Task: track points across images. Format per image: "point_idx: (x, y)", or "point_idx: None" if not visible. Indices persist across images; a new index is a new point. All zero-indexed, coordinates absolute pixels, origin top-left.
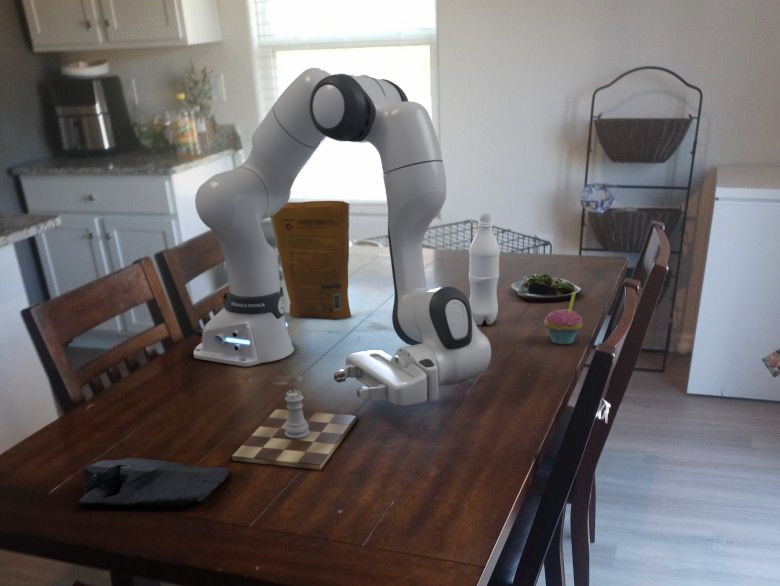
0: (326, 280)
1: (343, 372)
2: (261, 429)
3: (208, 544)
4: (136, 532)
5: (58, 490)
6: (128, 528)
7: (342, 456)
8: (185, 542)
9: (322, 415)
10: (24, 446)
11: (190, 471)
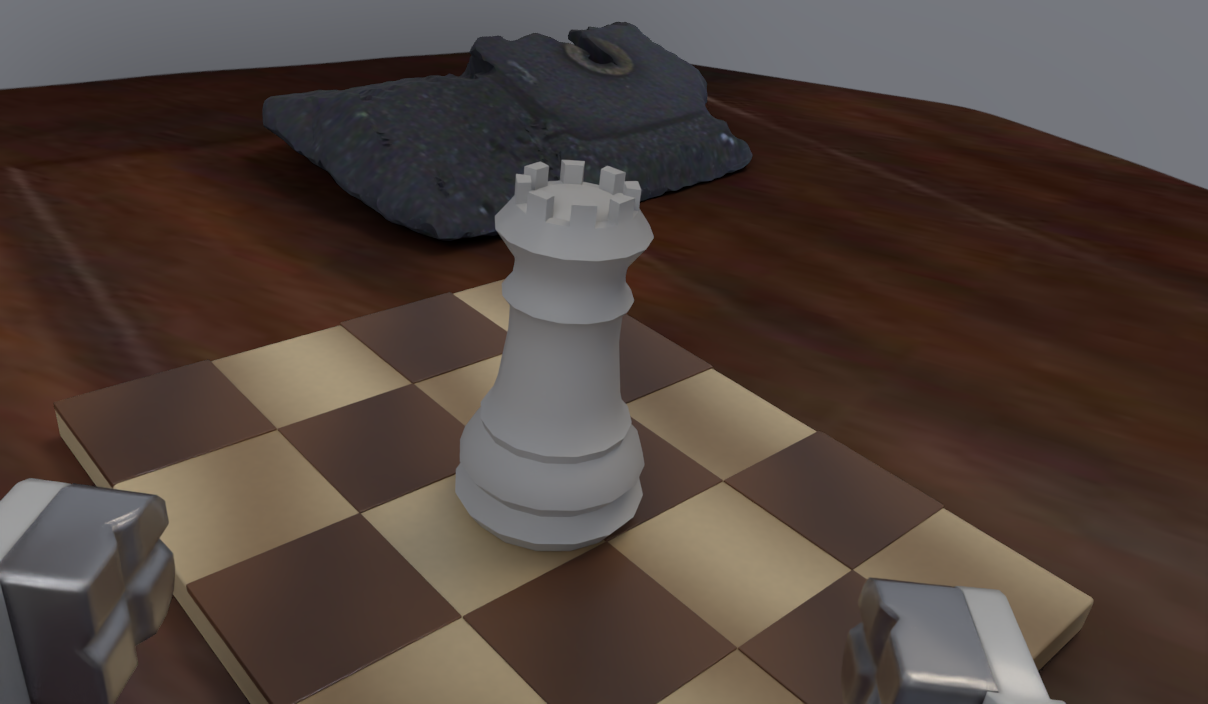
0: None
1: (897, 655)
2: (766, 420)
3: (65, 113)
4: (313, 89)
5: None
6: None
7: None
8: (142, 103)
9: None
10: (1016, 125)
11: (402, 92)
